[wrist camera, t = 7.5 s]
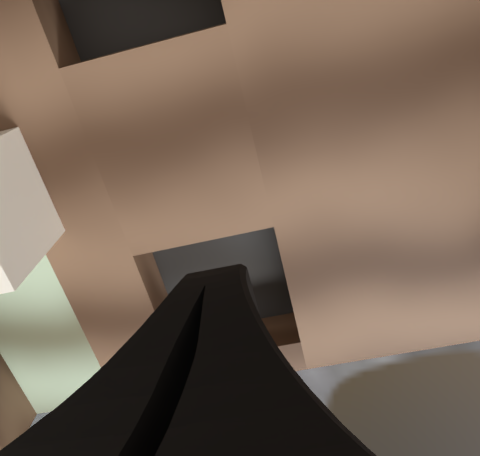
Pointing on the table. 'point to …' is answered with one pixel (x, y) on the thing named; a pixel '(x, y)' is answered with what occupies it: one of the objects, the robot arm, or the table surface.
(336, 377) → the table surface
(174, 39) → the deck
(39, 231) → the block
